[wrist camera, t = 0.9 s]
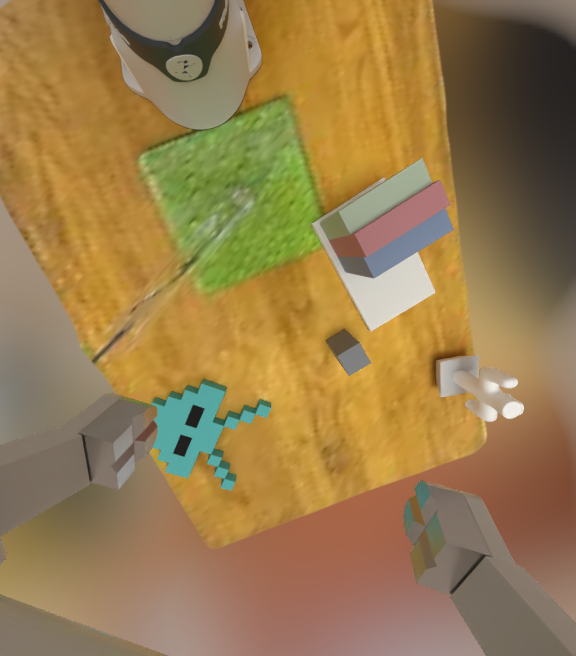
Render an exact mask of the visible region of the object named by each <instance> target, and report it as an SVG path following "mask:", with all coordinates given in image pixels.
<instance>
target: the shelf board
mask: <svg viewBox="0 0 576 656" xmlns="http://www.w3.org/2000/svg"><path fill="white" fill-rule="evenodd" d="M449 205H450V203H449V201H448V198H447V195H446V193H445V190H444V188H443V185H442V182H441V180H439V181H436V182H434V183H432V181H431V179H430V176H429V174H428V171H427V169H426V166H425V163H424V161H423V158H421V159H420V160H418V161H416V162H415V163H413V164H412V165H410V166H408V167H407V168H405V169H403V170H402V171H400V172H398V173H397V174H395V175H394V176H392V177H390V178H389V179H387V180H385V177H384V178H382V179H381V180H379V181H377V182H376V183H374V184H373V185H371V186H370V187H368V188H367V189H365V190H363V191H362V192H360V193H359V194H357V195H356V196H354V197H353V198H351V199H349V200H348V201H346V202H345V203H343V204H342V205H340V206H339V207H337V208H335V209H334V210H332V211H331V212H329V213H328V214H326V215H325V216H323V217H321V218H320V219H318V220H317V221H315V222H314V223H312V224H311V226H312V228H313V230H314V232H315V234H316V236H317V237H318V239H319V241H320V243H321V245H322V247H323V248H324V250H325V252H326V254H327V256H328V257H329V259H330V261H331V263H332V265H333V267H334V268H335V270H336V272H337V274H338V276H339V278H340V279H341V281H342V283H343V285H344V287H345V289H346V290H347V292H348V294H349V296H350V298H351V300H352V301H353V303H354V305H355V307H356V309H357V311H358V312H359V314H360V316H361V318H362V320H363V321H364V323H365V325H366V327H367V329H368V330H369V331H373V330H374V329H376V328H378V327H379V326H381V325H383V324H384V323H386V322H388V321H389V320H391V319H392V318H394V317H396V316H397V315H399V314H401V313H402V312H404V311H406V310H407V309H409V308H411V307H412V306H414V305H416V304H417V303H419V302H421V301H422V300H424V299H426V298H427V297H429V296H431V295H432V294H434V293H436V292H435V290H434V288H433V286H432V283H431V281H430V279H429V276H428V274H427V272H426V270H425V267H424V265H423V263H422V261H421V258H420V256H419V254H418V251H420V250H421V249H423V248H425V247H426V246H428V245H429V244H431V243H433V242H434V241H436V240H438V239H439V238H441V237H442V236H444V235H446V234H447V233H449V232H451V231H452V230H454V229H453V227H452V224H451V222H450V219H449V217H448V214H447V211H446V209H445V208H446V207H448V206H449Z"/></svg>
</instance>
